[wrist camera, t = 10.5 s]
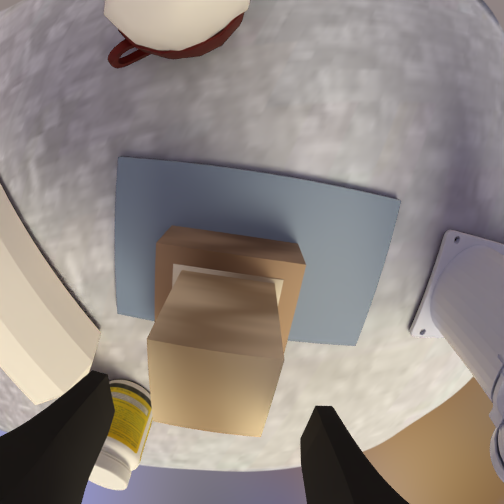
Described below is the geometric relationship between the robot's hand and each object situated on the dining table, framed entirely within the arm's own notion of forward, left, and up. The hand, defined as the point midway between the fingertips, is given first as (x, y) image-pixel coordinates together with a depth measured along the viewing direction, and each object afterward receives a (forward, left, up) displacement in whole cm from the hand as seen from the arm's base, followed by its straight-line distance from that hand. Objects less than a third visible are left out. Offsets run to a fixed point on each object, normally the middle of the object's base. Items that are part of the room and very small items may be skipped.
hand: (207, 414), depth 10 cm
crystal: (+18, 0, -10) cm, 20 cm away
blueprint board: (-1, -2, -10) cm, 10 cm away
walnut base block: (0, 0, -9) cm, 9 cm away
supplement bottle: (+7, +12, -10) cm, 17 cm away
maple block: (0, 0, -6) cm, 6 cm away
